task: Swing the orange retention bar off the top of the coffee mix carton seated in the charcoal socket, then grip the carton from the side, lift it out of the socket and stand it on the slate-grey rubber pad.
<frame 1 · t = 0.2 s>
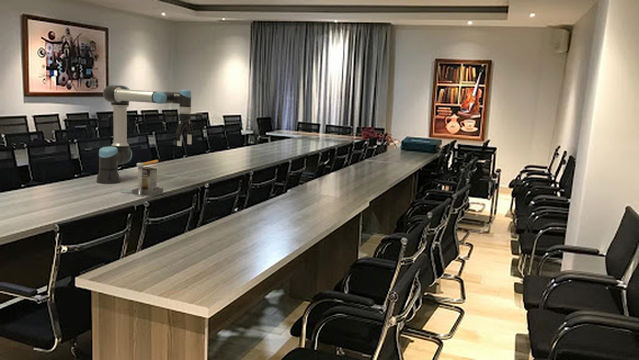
hand: (184, 145, 370), 28 cm above the table, tool pointing down, fingers open, 13 cm apart
coffee box: (147, 193, 344), resting in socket
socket: (147, 193, 344), on the table
clip bar: (148, 163, 341), point 19 cm above the table, hinge at 0.0°
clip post: (140, 195, 335), on the table
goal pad: (128, 191, 345), on the table
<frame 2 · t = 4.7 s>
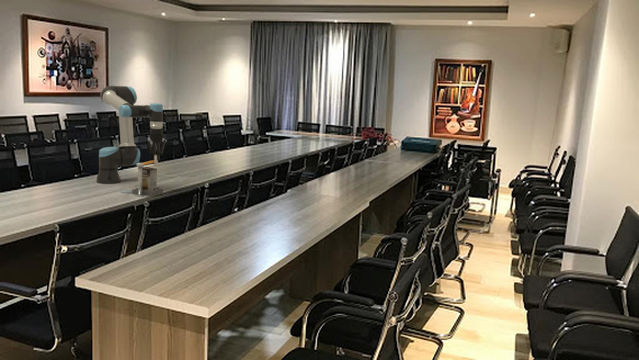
hand: (156, 165, 349), 17 cm above the table, tool pointing down, fingers closed
clip bar: (147, 162, 341), point 19 cm above the table, hinge at 2.9°, touching gripper
everything else where it was.
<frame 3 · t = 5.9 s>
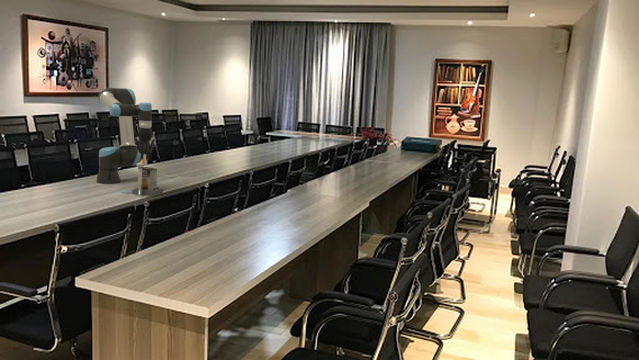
hand: (145, 164, 349), 17 cm above the table, tool pointing down, fingers closed
clip bar: (141, 162, 341), point 19 cm above the table, hinge at 26.3°, touching gripper
everything else where it was.
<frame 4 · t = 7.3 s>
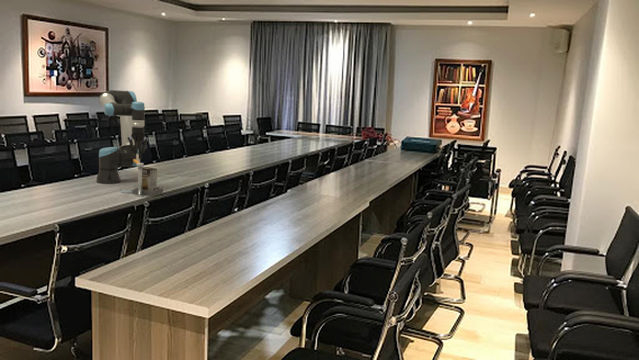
hand: (138, 163, 349), 17 cm above the table, tool pointing down, fingers closed
clip bar: (137, 162, 340), point 19 cm above the table, hinge at 40.7°, touching gripper
everything else where it was.
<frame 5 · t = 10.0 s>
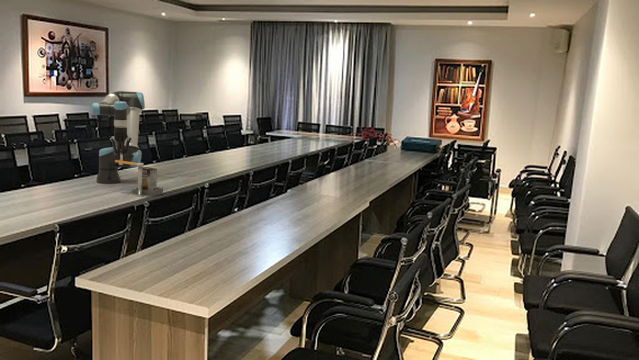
hand: (120, 164, 342), 17 cm above the table, tool pointing down, fingers closed
clip bar: (129, 163, 336), point 19 cm above the table, hinge at 75.2°, touching gripper
everything else where it was.
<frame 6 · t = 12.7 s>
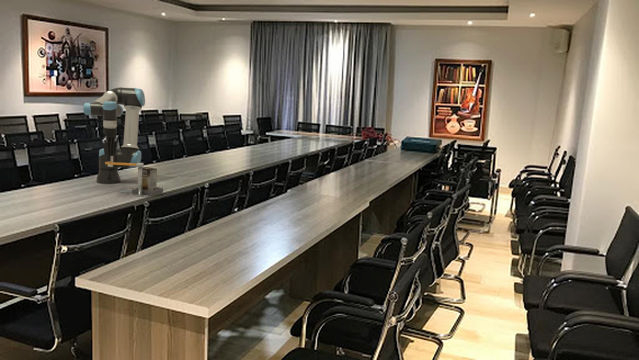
hand: (110, 166, 333), 17 cm above the table, tool pointing down, fingers closed
clip bar: (124, 164, 332), point 19 cm above the table, hinge at 105.4°, touching gripper
everything else where it was.
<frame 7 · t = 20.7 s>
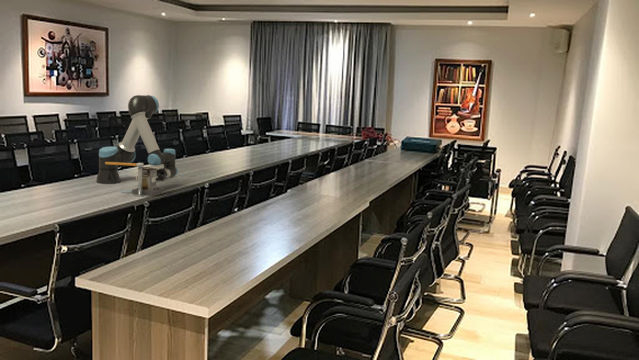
hand: (144, 179, 338), 10 cm above the table, tool horizontal, fingers closed on coffee box, 10 cm apart
coffee box: (147, 193, 344), resting in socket, touching gripper
clip bar: (124, 164, 332), point 19 cm above the table, hinge at 105.4°
when the fingers open (12 cm above the table, at t = 25.0 s): coffee box drops 1 cm, resting on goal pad.
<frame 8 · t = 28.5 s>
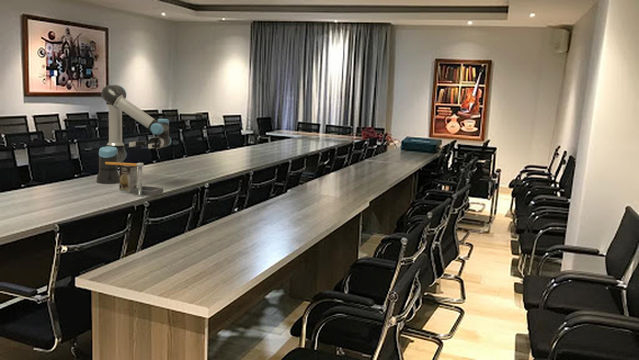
hand: (139, 145, 352), 28 cm above the table, tool horizontal, fingers open, 13 cm apart
coffee box: (128, 191, 345), resting on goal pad
everything else where it was.
at the end: clip bar at +105° (first picture: +0°); coffee box 0.1 cm from the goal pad (horizontally); coffee box tilted 0° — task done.
